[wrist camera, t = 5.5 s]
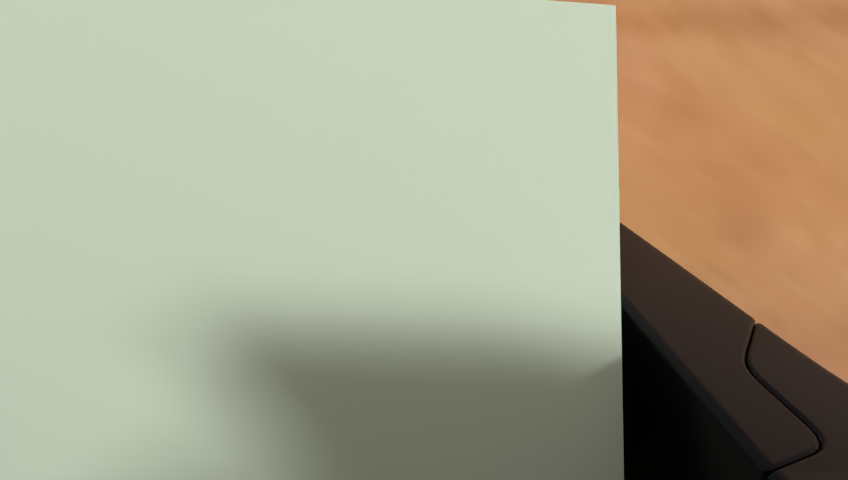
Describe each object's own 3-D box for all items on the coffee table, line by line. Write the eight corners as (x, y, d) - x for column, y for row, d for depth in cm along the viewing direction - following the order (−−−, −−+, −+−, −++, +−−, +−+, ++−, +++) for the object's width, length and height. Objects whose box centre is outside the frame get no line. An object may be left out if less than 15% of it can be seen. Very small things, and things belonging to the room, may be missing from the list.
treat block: (445, 460, 15) (626, 638, 6) (194, 457, 15) (-93, 650, 5) (450, 219, 16) (615, 5, 6) (211, 209, 16) (-7, -41, 6)
